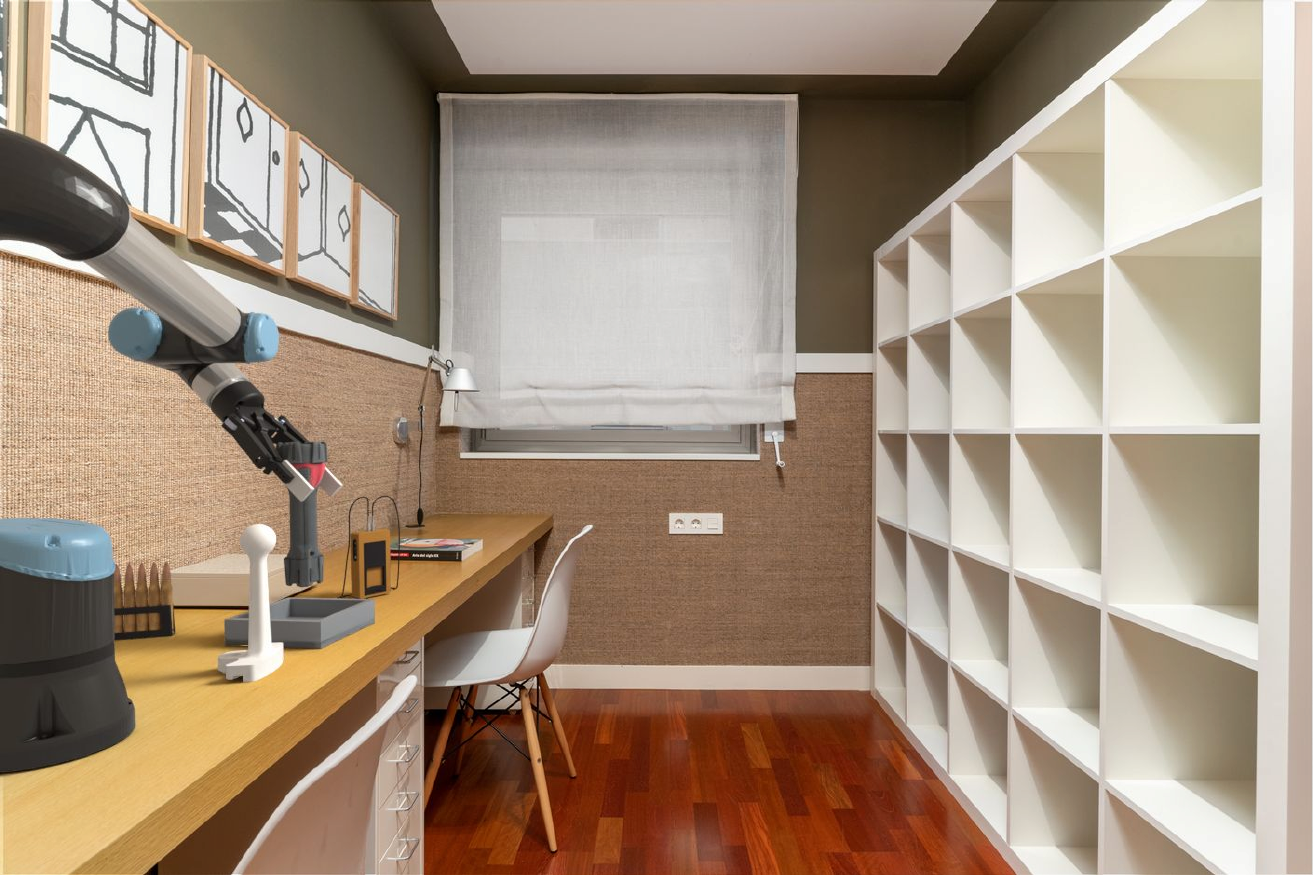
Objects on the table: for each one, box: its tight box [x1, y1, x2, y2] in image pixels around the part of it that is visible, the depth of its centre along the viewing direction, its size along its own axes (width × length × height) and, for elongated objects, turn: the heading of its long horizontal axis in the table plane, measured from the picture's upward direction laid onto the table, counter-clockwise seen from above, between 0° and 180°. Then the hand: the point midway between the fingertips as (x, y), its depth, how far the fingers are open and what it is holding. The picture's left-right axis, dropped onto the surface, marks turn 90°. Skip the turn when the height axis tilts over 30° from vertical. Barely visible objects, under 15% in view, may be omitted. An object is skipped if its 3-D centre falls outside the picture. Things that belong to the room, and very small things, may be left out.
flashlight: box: [275, 441, 329, 588], centre depth 127 cm, size 8×8×23 cm
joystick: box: [217, 523, 285, 683], centre depth 107 cm, size 11×8×20 cm
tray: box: [223, 596, 376, 650], centre depth 127 cm, size 16×16×4 cm
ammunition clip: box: [114, 561, 177, 642], centre depth 126 cm, size 11×2×12 cm, turn 107°
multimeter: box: [337, 495, 401, 599], centre depth 157 cm, size 15×10×20 cm
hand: (322, 492), depth 126 cm, fingers closed on flashlight, 7 cm apart
